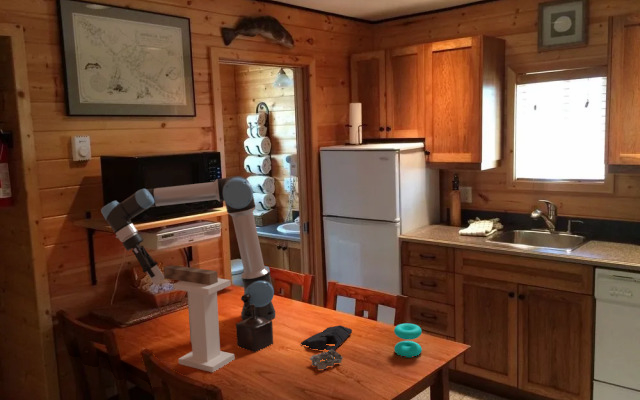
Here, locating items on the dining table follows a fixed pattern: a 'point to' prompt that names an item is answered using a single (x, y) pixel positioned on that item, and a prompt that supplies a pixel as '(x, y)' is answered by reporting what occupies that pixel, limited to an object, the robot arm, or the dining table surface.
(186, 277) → the walnut bar
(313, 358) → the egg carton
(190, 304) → the pedestal stand
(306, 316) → the dining table surface
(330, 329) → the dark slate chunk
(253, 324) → the pepper mill
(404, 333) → the donuts
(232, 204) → the robot arm
